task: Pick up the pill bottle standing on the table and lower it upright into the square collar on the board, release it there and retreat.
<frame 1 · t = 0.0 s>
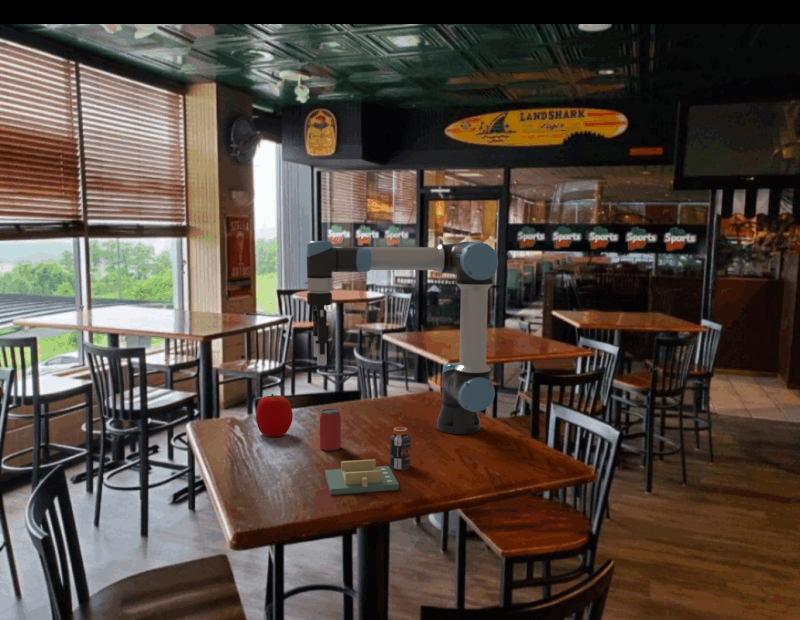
hand: (319, 360, 199), 28 cm above the table, fingers open, 13 cm apart
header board: (360, 482, 175), on the table
pill bottle: (400, 467, 187), on the table
beer can: (330, 448, 203), on the table
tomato: (274, 435, 216), on the table
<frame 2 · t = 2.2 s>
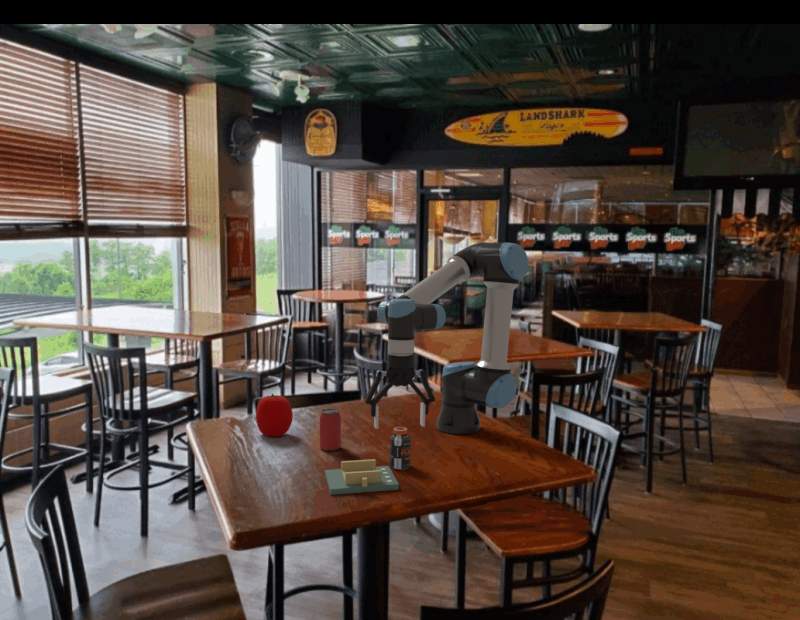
hand: (399, 426, 186), 12 cm above the table, fingers open, 13 cm apart
nothing on the table moved.
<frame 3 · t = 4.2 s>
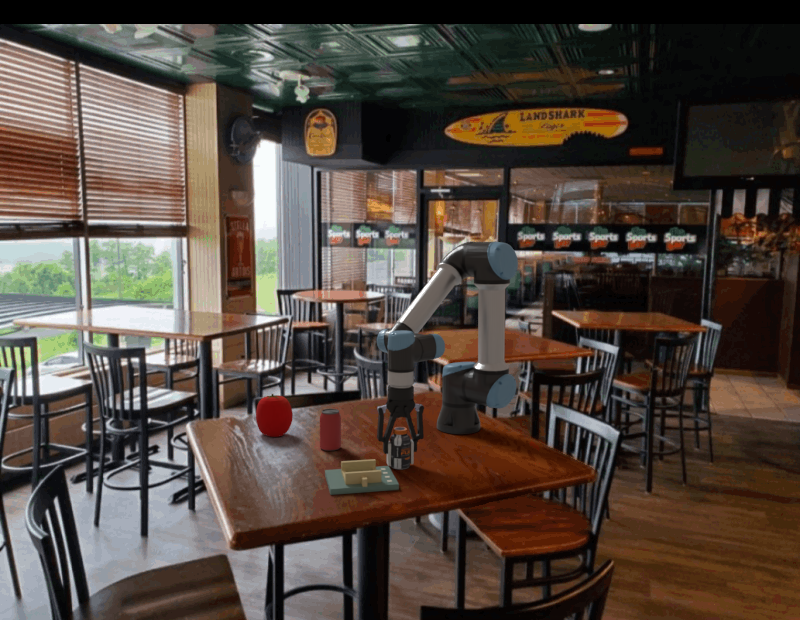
hand: (400, 463, 187), 1 cm above the table, fingers closed on pill bottle, 6 cm apart
pill bottle: (399, 466, 187), on the table, touching gripper
everything else where it was.
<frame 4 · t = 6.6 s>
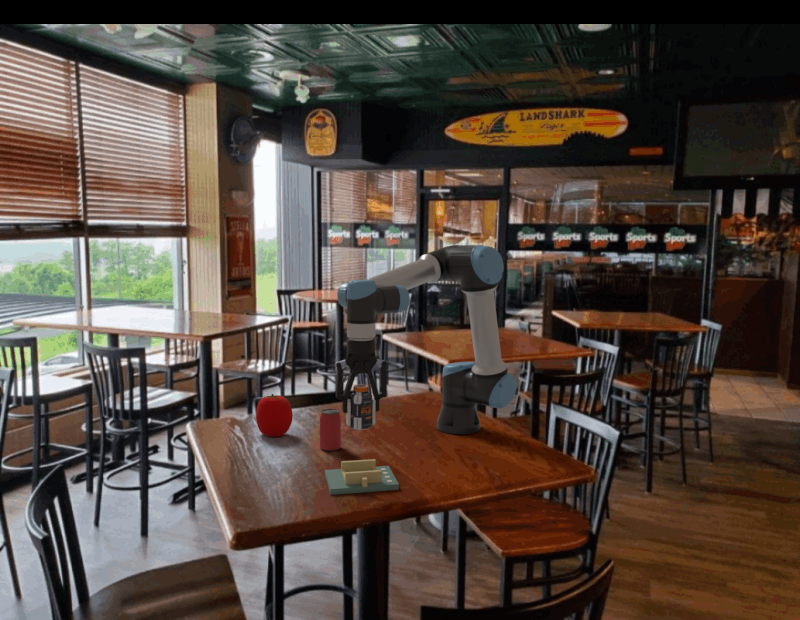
hand: (360, 423, 173), 16 cm above the table, fingers closed on pill bottle, 6 cm apart
pill bottle: (360, 427, 173), point 15 cm above the table, touching gripper
everything else where it was.
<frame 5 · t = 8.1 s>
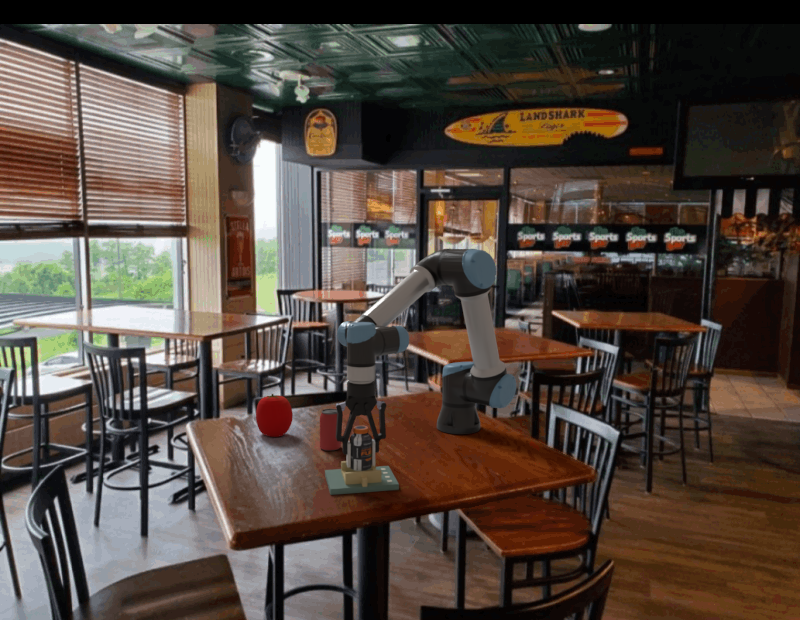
hand: (360, 464, 174), 5 cm above the table, fingers closed on pill bottle, 6 cm apart
pill bottle: (360, 468, 174), point 4 cm above the table, touching gripper
everything else where it was.
when the fingers open (4 cm above the table, at t = 9.1 s): pill bottle drops 2 cm, resting on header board.
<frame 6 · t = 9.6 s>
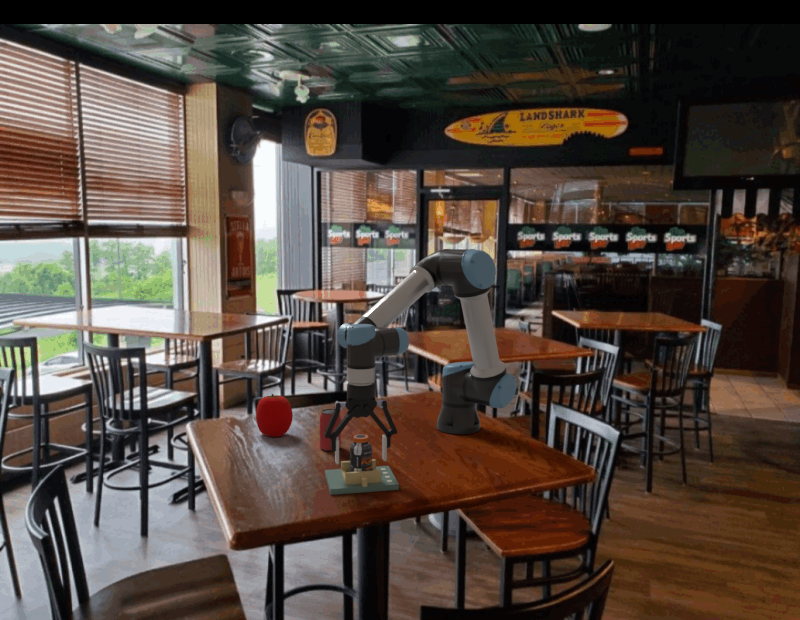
hand: (360, 461, 174), 6 cm above the table, fingers open, 12 cm apart
pill bottle: (361, 477, 175), point 1 cm above the table, touching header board
everything else where it was.
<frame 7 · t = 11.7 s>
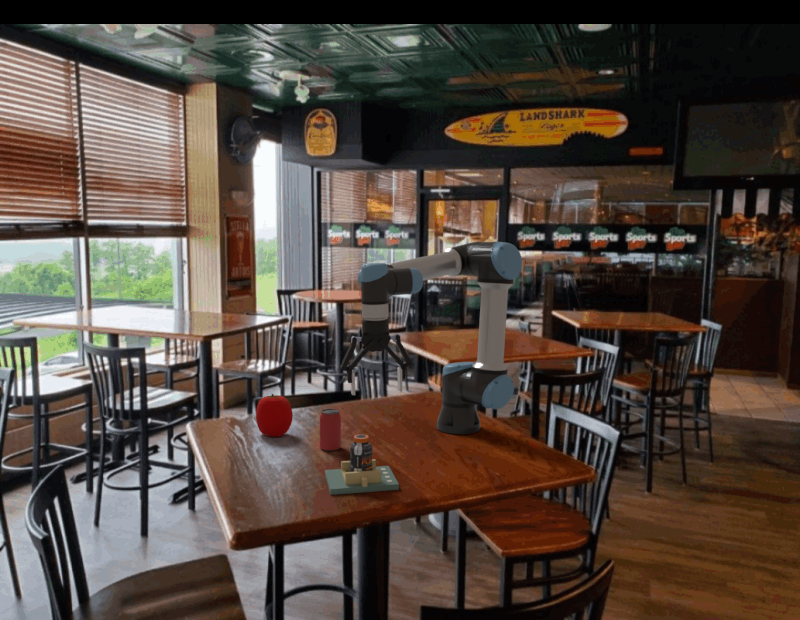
hand: (376, 392, 184), 22 cm above the table, fingers open, 13 cm apart
nothing on the table moved.
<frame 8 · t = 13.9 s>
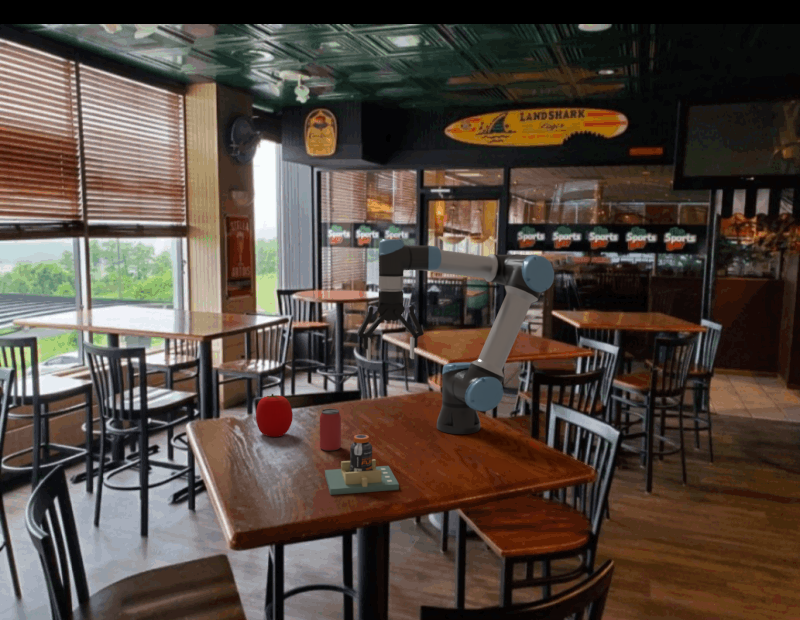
hand: (390, 359, 199), 29 cm above the table, fingers open, 13 cm apart
nothing on the table moved.
at the end: pill bottle 0.1 cm off-centre on the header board, point 1.3 cm above the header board's base; pill bottle tilted 0°; the gripper is holding nothing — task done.
